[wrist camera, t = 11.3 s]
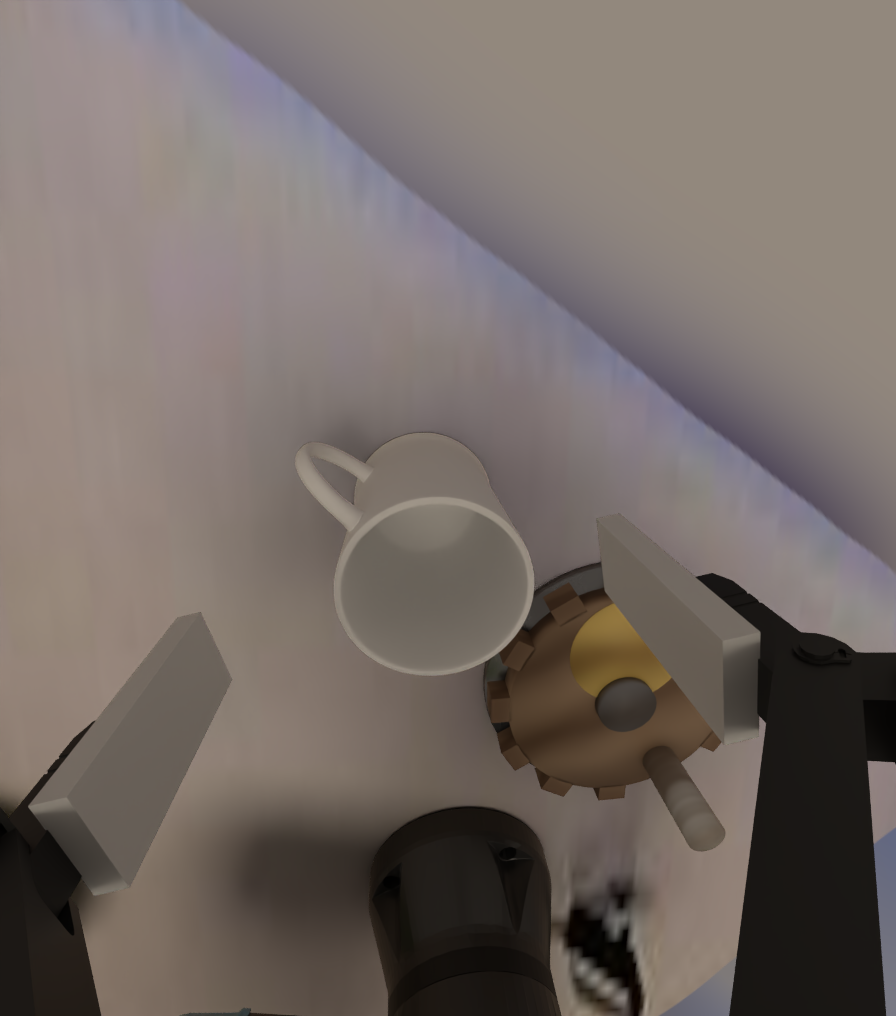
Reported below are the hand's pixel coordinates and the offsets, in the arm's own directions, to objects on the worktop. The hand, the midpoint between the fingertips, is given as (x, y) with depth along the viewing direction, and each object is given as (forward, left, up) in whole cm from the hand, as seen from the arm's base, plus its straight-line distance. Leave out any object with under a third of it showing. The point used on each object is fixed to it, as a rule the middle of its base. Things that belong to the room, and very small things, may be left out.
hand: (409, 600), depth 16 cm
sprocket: (+11, -18, -14) cm, 25 cm away
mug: (0, 0, -15) cm, 15 cm away
